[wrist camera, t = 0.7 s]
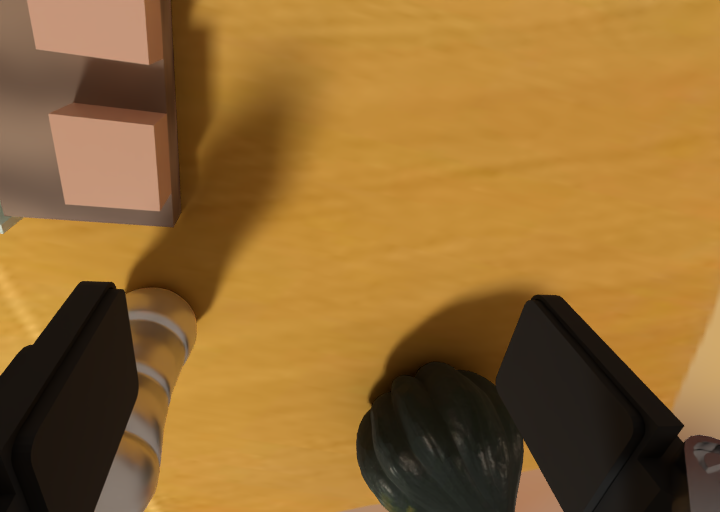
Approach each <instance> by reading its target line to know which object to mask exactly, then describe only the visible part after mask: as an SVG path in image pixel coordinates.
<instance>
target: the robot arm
mask: <svg viewBox="0 0 720 512" xmlns="http://www.w3.org/2000/svg"><path fill="white" fill-rule="evenodd" d="M496 389H497V392H498V394H499V396H500V397H501V399H502V401H503V403H504V405H505V407H506V408H507V410H508V412H509V414H510V416H511V417H512V419H513V421H514V423H515V425H516V426H517V428H518V430H519V432H520V434H521V435H522V437H523V439H524V441H525V443H526V444H527V446H528V448H529V450H530V452H531V454H532V455H533V457H534V459H535V461H536V463H537V464H538V466H539V468H540V470H541V472H542V473H543V475H544V477H545V479H546V481H547V482H548V484H549V486H550V488H551V490H552V491H553V493H554V495H555V497H556V499H557V500H558V502H559V504H560V506H561V508H562V509H563V511H564V512H720V440H718V439H715V438H712V437H709V436H703V435H695V436H690V437H689V438H688V439H686V440H685V442H684V443H683V442H682V441H681V440H680V439H679V437H678V436H677V435H678V434H679V432H680V431H681V429H682V428H683V427H684V425H683V424H682V423H681V422H680V421H679V420H678V418H677V417H675V415H674V414H673V413H672V412H671V411H670V410H669V409H668V408H667V407H666V406H665V405H664V404H663V403H662V402H661V401H660V400H659V399H658V398H657V396H656V395H655V394H654V393H653V392H652V391H651V390H650V389H649V388H648V387H647V386H646V385H645V384H644V383H643V382H642V381H641V380H640V379H639V378H638V377H637V376H636V374H635V373H634V372H633V371H632V370H631V369H630V368H629V367H628V366H627V365H626V364H625V363H624V362H623V361H622V360H621V359H620V358H619V357H618V356H617V355H616V354H615V353H614V351H613V350H612V349H611V348H610V347H609V346H608V345H607V344H606V343H605V342H604V341H603V340H602V339H601V338H600V337H599V336H598V335H597V334H596V333H595V332H594V331H593V330H592V328H591V327H590V326H589V325H588V324H587V323H586V322H585V321H584V320H583V319H582V318H581V317H580V316H579V315H578V314H577V313H576V312H575V311H574V310H573V309H572V308H571V307H570V305H569V304H568V303H567V302H566V301H565V300H564V299H563V298H562V297H560V296H557V295H535V296H533V297H532V298H531V300H529V301H527V302H526V303H525V305H524V308H523V310H522V313H521V315H520V318H519V321H518V323H517V326H516V328H515V331H514V333H513V336H512V338H511V341H510V344H509V346H508V349H507V351H506V354H505V356H504V359H503V361H502V364H501V367H500V369H499V372H498V374H497V377H496ZM138 390H139V380H138V373H137V367H136V360H135V354H134V347H133V341H132V334H131V327H130V321H129V314H128V308H127V301H126V295H125V292H124V290H123V289H116V286H115V284H114V283H112V282H93V281H82V282H80V283H79V284H78V285H77V286H76V288H75V289H74V290H73V292H72V293H71V294H70V296H69V297H68V298H67V300H66V301H65V302H64V304H63V305H62V306H61V308H60V309H59V310H58V312H57V313H56V314H55V316H54V317H53V318H52V320H51V321H50V323H49V324H48V325H47V327H46V328H45V329H44V331H43V332H42V333H41V335H40V336H39V337H38V339H37V340H36V341H35V343H34V344H33V345H28V346H26V347H24V348H23V349H22V350H21V351H20V352H19V353H18V354H17V355H16V356H15V358H14V359H13V360H12V362H11V363H10V364H9V365H8V367H7V368H6V369H5V371H4V372H3V373H2V374H1V376H0V512H94V511H95V508H96V505H97V503H98V500H99V497H100V495H101V492H102V489H103V487H104V484H105V482H106V479H107V476H108V474H109V471H110V468H111V466H112V463H113V460H114V458H115V455H116V452H117V450H118V447H119V445H120V442H121V439H122V437H123V434H124V431H125V429H126V426H127V423H128V421H129V418H130V416H131V413H132V410H133V408H134V405H135V402H136V400H137V396H138Z"/></svg>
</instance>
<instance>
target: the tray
mask: <svg viewBox="0 0 720 512" xmlns="http://www.w3.org/2000/svg"><path fill="white" fill-rule="evenodd" d="M22 218H24V217H15V216H4V213H3V210H2V206H1V202H0V233H3V234H4V233H5V232H6V231H7V230H9V229H10V228H11V227H12V226H14V225H15V224H16V223H17V222H19V221H20V220H21V219H22Z"/></svg>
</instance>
